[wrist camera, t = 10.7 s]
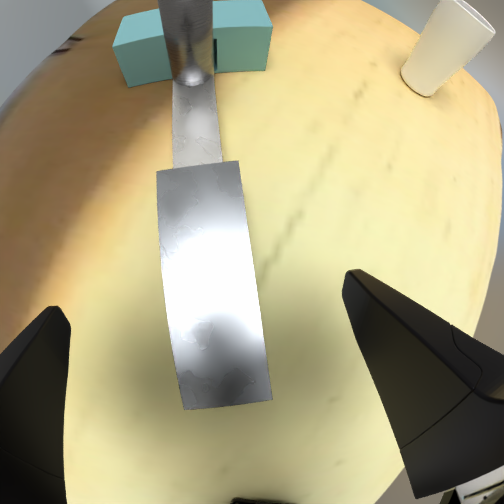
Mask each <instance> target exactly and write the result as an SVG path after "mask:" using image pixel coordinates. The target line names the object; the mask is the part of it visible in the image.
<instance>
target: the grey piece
mask: <svg viewBox="0 0 504 504" xmlns="http://www.w3.org/2000/svg"><path fill="white" fill-rule="evenodd" d="M158 5H159V11H160V17H161V23H162V28H163V33H164V39H165V44H166V49H167V54H168V59H169V64H170V69H171V74H172V79H173V104H172V142H173V169H174V168H181V167H188V166H195V165H203V164H211V163H219V162H223V159H222V151H221V142H220V133H219V124H218V115H217V105H216V96H215V80H214V48H213V0H158Z"/></svg>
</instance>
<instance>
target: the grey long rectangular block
mask: <svg viewBox="0 0 504 504" xmlns="http://www.w3.org/2000/svg"><path fill="white" fill-rule="evenodd" d="M157 209H158V228H159V243H160V256H161V267H162V277H163V287H164V295H165V304H166V311H167V319H168V326H169V332H170V339H171V345H172V351H173V357H174V362H175V368H176V373H177V378H178V383H179V388H180V393H181V398H182V402H183V407H184V410H190V409H204V408H215V407H224V406H233V405H241V404H248V403H254V402H261V401H267V400H272V399H273V398H272V391H271V385H270V378H269V371H268V364H267V357H266V350H265V343H264V336H263V329H262V322H261V315H260V308H259V301H258V294H257V287H256V280H255V273H254V266H253V260H252V253H251V246H250V239H249V232H248V225H247V218H246V211H245V204H244V197H243V190H242V183H241V176H240V169H239V162H238V161H229V162H219V163H211V164H203V165H195V166H188V167H181V168H174V169H168V170H162V171H157Z"/></svg>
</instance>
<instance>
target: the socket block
mask: <svg viewBox="0 0 504 504" xmlns="http://www.w3.org/2000/svg"><path fill="white" fill-rule="evenodd" d="M272 29H273V26H272V23H271V21H270V19H269V16H268V14H267V11H266V9H265V7H264V5H263V2H262V0H230V1H213V48H214V73H223V72H238V71H265V68H266V62H267V57H268V51H269V45H270V40H271V34H272ZM113 50H114V52H115V55H116V58H117V60H118V63H119V65H120V68H121V70H122V73H123V75H124V78H125V80H126V83H127V85H128V88H129V87H133V86H137V85H142V84H147V83H151V82H157V81H162V80H168V79H172V74H171V69H170V64H169V59H168V54H167V49H166V44H165V39H164V33H163V28H162V23H161V17H160V11H159V9H155V10H150V11H145V12H141V13H137V14H133V15H129V16H125V17H123V20H122V22H121V25H120V27H119V30H118V33H117V35H116V38H115V41H114V44H113Z"/></svg>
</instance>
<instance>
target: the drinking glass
mask: <svg viewBox="0 0 504 504" xmlns="http://www.w3.org/2000/svg"><path fill="white" fill-rule="evenodd" d="M495 34H496V32H495V30H494V28H493V27H492V26H491V25H490V24H489V23H488V22H487V20H486V19H485V18H484V17H482V16H481V15H480V14H479V13H478V12H477V11H476V10H475V9H474V8H472V7H471V6H470V5H469V4H467V3H466V2H465V1H463V0H440V1H439V3H438V4H437V6H436V7H435V9H434V10H433V12H432V14H431V16H430V18H429V20H428V21H427V23H426V25H425V27H424V29H423V31H422V33H421V35H420V37H419V39H418V41H417V43H416V44H415V46H414V48H413V50H412V52H411V54H410V55H409V57H408V59H407V61H406V62H405V63H404V65H403V66H402V68H401V76H402V78H403V80H404V81H405V82H406V84H407V85H408V86H409V87H410V88H411V89H413V90H414V91H415V92H417V93H419V94H421V95H423V96H431V95H433V94H434V93H435V92H436V91H437V90H438V89H439V88H440V87H441V86H442V85H443V84H444V83H445V82H446V81H448V80H449V79H450V78H451V77H452V76H453V75H454V74H456V73H457V72H458V71H459V70H460V69H461V68H463V67H464V66H465V65H466V64H467V63H468V62H469V61H471V60H472V59H473V58H474V57H475V56H476V55H477V54H479V53H480V52H481V51H482V49H484V47H485V46H486V45H487V44H488V43H489V42H490V40H491V39H492V38H493V36H494V35H495Z"/></svg>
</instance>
